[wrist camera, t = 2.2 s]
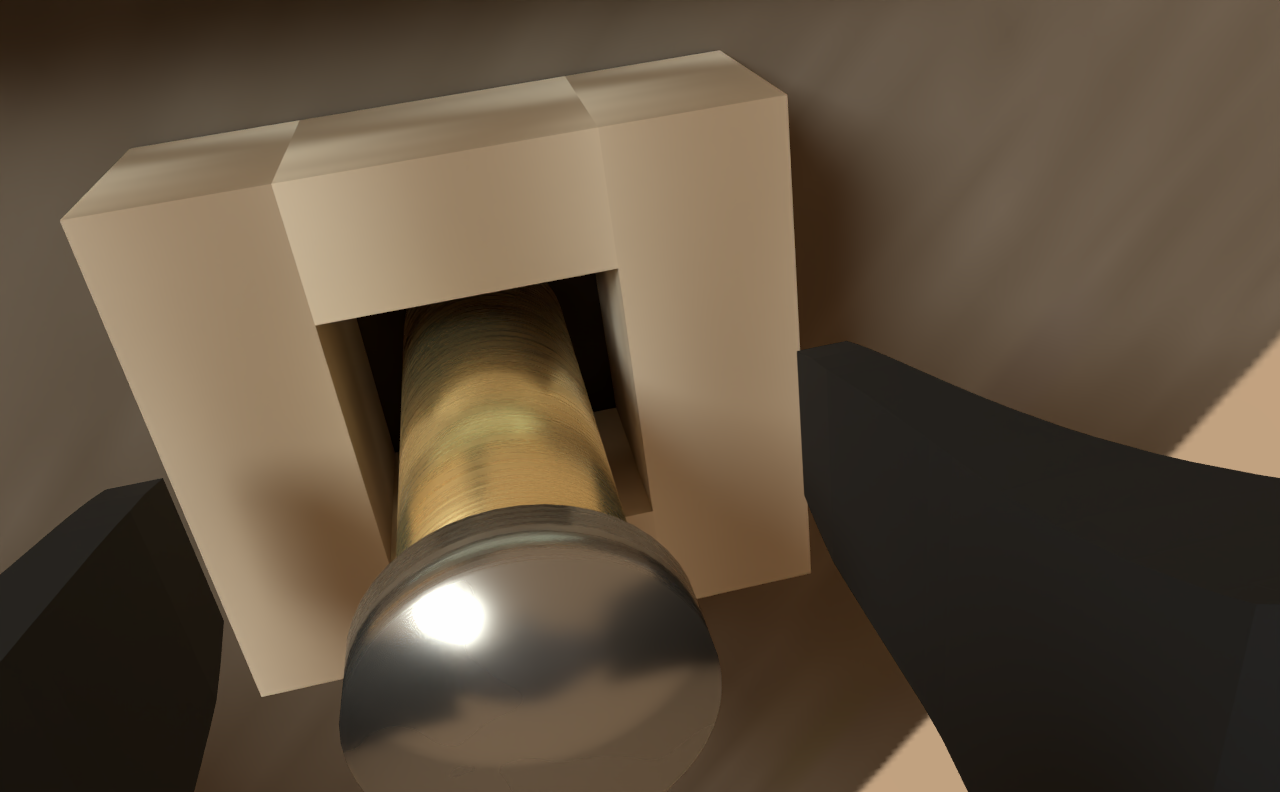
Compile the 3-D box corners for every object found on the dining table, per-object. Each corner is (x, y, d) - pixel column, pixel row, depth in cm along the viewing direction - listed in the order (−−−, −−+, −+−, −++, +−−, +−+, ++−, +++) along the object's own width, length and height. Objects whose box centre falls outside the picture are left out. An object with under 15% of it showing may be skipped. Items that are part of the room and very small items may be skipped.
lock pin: (404, 438, 16) (392, 883, 9) (351, 250, 14) (288, 614, 8) (602, 399, 16) (735, 798, 9) (571, 209, 15) (704, 523, 8)
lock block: (286, 565, 17) (261, 696, 14) (130, 148, 13) (60, 220, 11) (753, 466, 18) (810, 573, 15) (720, 49, 14) (787, 95, 12)
